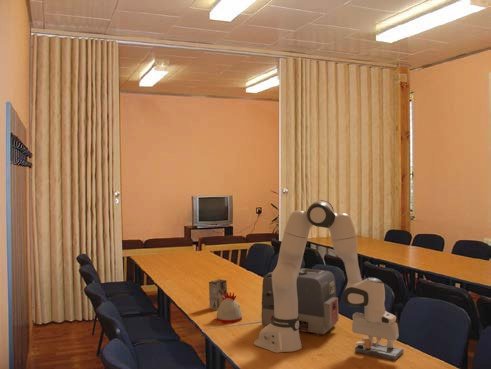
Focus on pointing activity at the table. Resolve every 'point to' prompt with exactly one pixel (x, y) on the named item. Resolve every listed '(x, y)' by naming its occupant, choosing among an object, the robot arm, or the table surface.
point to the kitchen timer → (229, 310)
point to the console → (380, 351)
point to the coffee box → (217, 293)
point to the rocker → (360, 343)
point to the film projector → (307, 300)
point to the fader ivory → (389, 343)
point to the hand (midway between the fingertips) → (374, 346)
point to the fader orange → (367, 343)
